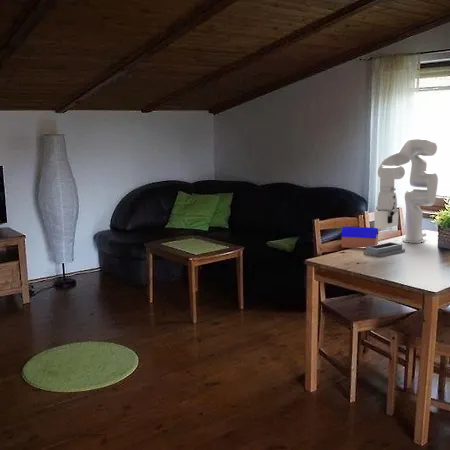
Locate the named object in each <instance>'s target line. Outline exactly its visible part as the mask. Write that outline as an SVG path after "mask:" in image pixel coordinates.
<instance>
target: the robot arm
mask: <svg viewBox="0 0 450 450" xmlns="http://www.w3.org/2000/svg"><path fill="white" fill-rule="evenodd" d="M436 143H437V142H435V141H433V140H432V139H431V140H430V139H428V138H425V137H409V138H406V139H405V140H404V141H403V142H402V145H401V146H400V147H399V149H398V151H397V152H396V153H392V154H391V155H389V156H388V157H386V158H385V159H383V160H382V162H381V163H380V165H379V167H378V170H377V176H378V177H379V191H378V196H377V206H376V208H375V210H376V211H382V210H387V211H388V214H389V216H388V223H392V216H393V215H394V214H395V213H396V212H398V213H399V210H397V209H398V201H397V200H398V199H397V193H396V192H395V191H396V187H395V180H400V179H402V178H404V176H405V173H406V171H405V168H404V167H403V166H402V165H406V164H407V163H409V162H410V161H411V168H410V175H409V185H410V186H411V187H413V188H412V189H408V190H406V192H404V204H405V235H404V237H403V238H402V242H404V243H408V242H409V244H410V243H411V244H420V243H421V242H422V243H425V238H424V237H426V236H427V233H423V214H424V213H423V209H422V208H421V206H422V207H432V206H433V205H434V204H435V202H436V198H437V191H438V182H439V177H438V174H437V173H436V172H434V171H427V165H428V164H427V161H426V160H425V158H424V157H432V156H435V154H436V153H437V151H438V146H437V144H436ZM414 188H415V189H414ZM416 188H417V189H416ZM418 188H425V189H418ZM393 210H394V211H393Z"/></svg>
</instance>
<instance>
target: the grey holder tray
mask: <svg viewBox="0 0 450 450" xmlns="http://www.w3.org/2000/svg"><path fill="white" fill-rule="evenodd" d="M405 252H406V250H405V248H403V244H402V243H397V242H392V241H389V242H384V243H378V245H373V246H368V247H366V249H364V250H363V254H364V253H367V254H366V255H368V254H371V255H370V256H373V255H375V256H374V257H378V256H379V257H378V258H382V257H383V258H384V257H388V256H391V254H392V255H396V253H397V254H400V253H401V254H402V253H405ZM387 255H388V256H387Z"/></svg>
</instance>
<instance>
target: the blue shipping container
mask: <svg viewBox="0 0 450 450" xmlns="http://www.w3.org/2000/svg"><path fill="white" fill-rule="evenodd" d="M340 238H341V248H350V249H357V248H356V247H368V246H373V245H377V244H379V229H378V228H374V227H366V226H363V227H362V226H343V227H342V228H341V234H340Z"/></svg>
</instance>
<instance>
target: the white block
mask: <svg viewBox="0 0 450 450" xmlns="http://www.w3.org/2000/svg"><path fill="white" fill-rule="evenodd" d="M397 210H398V212H396V213H395V214H394V215H393V216H392V223H388V216H389V214H388V211H387V210H382V211H378V210H376V211H374V226H373V228H378V230H382V229H387V228H392V227H397V226H399V208H397ZM393 211H394V210H393Z"/></svg>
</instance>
